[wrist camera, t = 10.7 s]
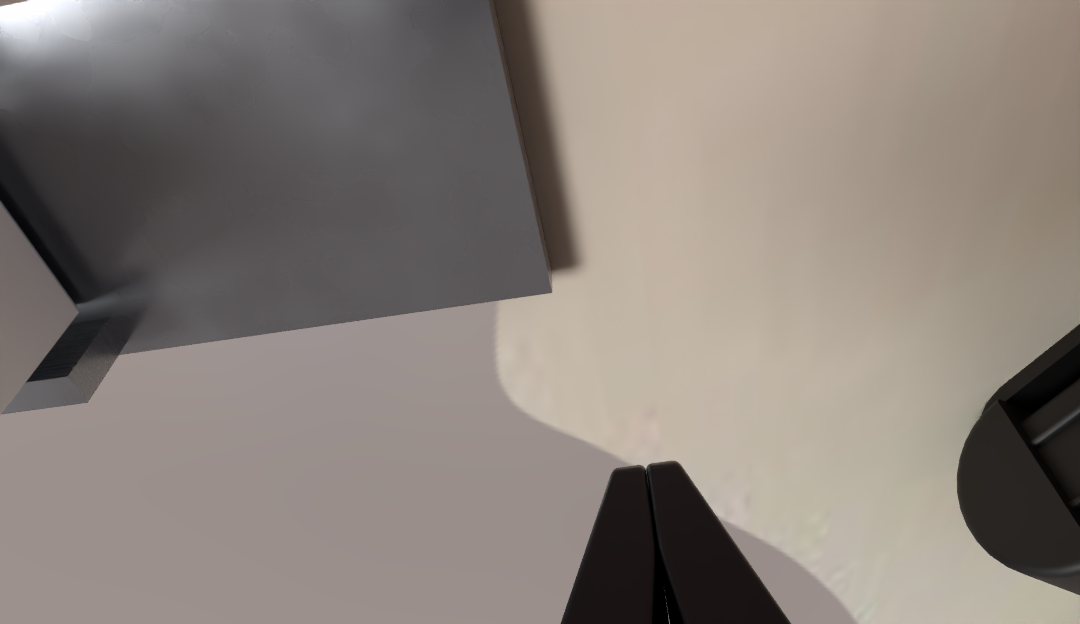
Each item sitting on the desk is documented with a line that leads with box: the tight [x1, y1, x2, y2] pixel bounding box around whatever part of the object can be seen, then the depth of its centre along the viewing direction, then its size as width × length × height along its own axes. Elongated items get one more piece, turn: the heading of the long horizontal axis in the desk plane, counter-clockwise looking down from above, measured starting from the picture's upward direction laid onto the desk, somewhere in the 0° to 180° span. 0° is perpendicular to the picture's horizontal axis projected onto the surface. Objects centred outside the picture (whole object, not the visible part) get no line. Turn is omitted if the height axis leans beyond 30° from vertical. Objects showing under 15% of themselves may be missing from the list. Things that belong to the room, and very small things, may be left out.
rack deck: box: [0, 0, 552, 414], centre depth 18 cm, size 24×10×7 cm, turn 100°
